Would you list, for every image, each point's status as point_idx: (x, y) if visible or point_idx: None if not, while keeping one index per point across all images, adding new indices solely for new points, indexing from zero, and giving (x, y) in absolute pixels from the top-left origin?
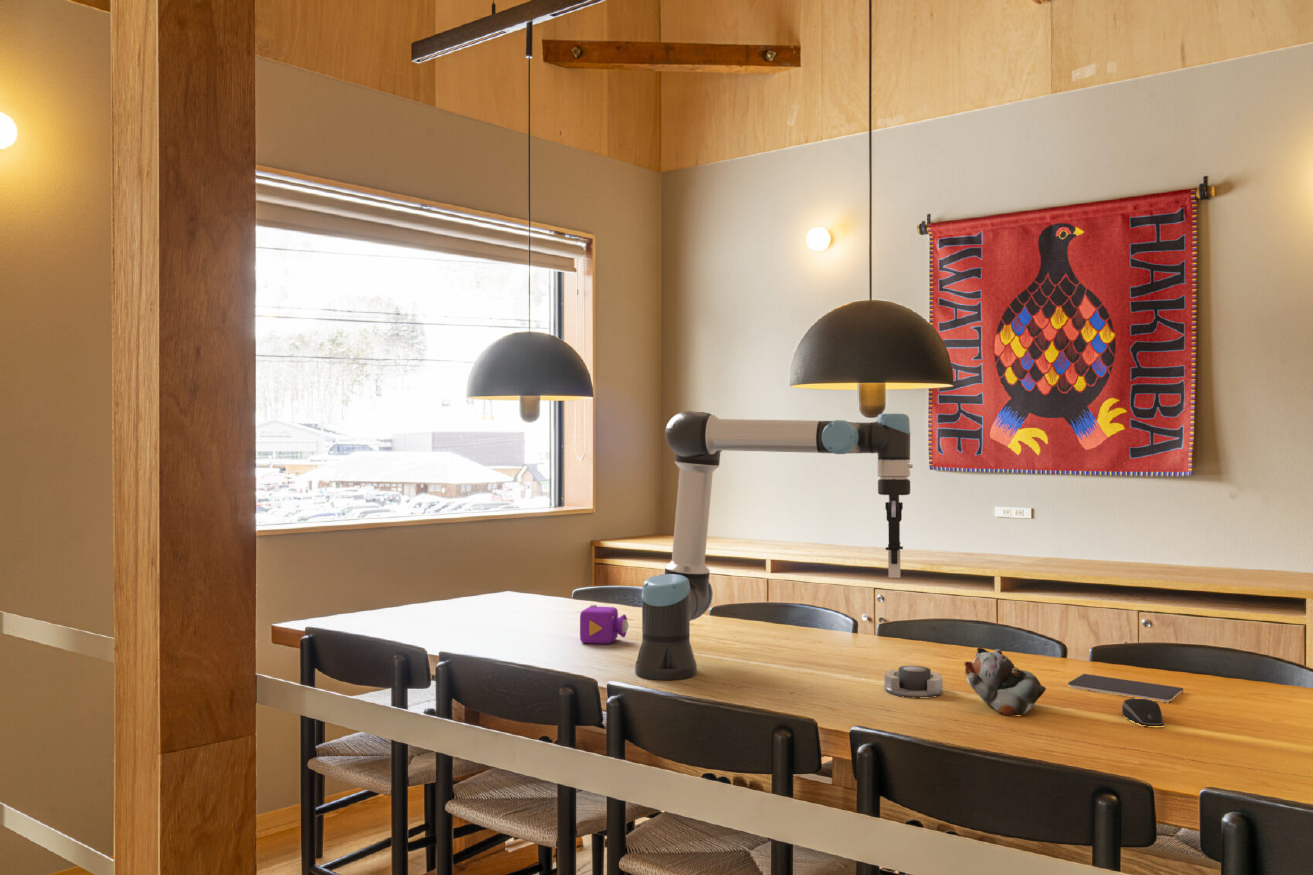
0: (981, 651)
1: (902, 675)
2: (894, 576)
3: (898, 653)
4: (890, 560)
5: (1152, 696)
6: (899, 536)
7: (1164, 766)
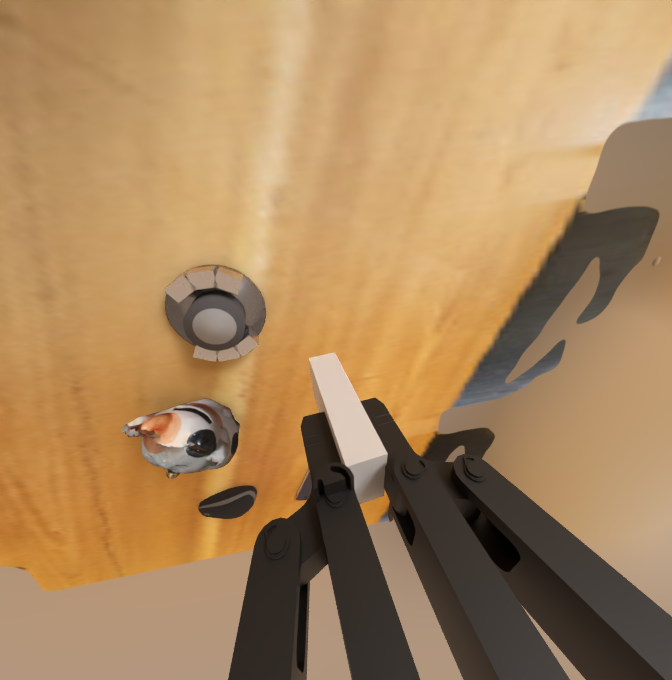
0: (195, 450)
1: (189, 307)
2: (312, 380)
3: (463, 248)
4: (328, 419)
5: (300, 492)
6: (433, 605)
7: (61, 541)
